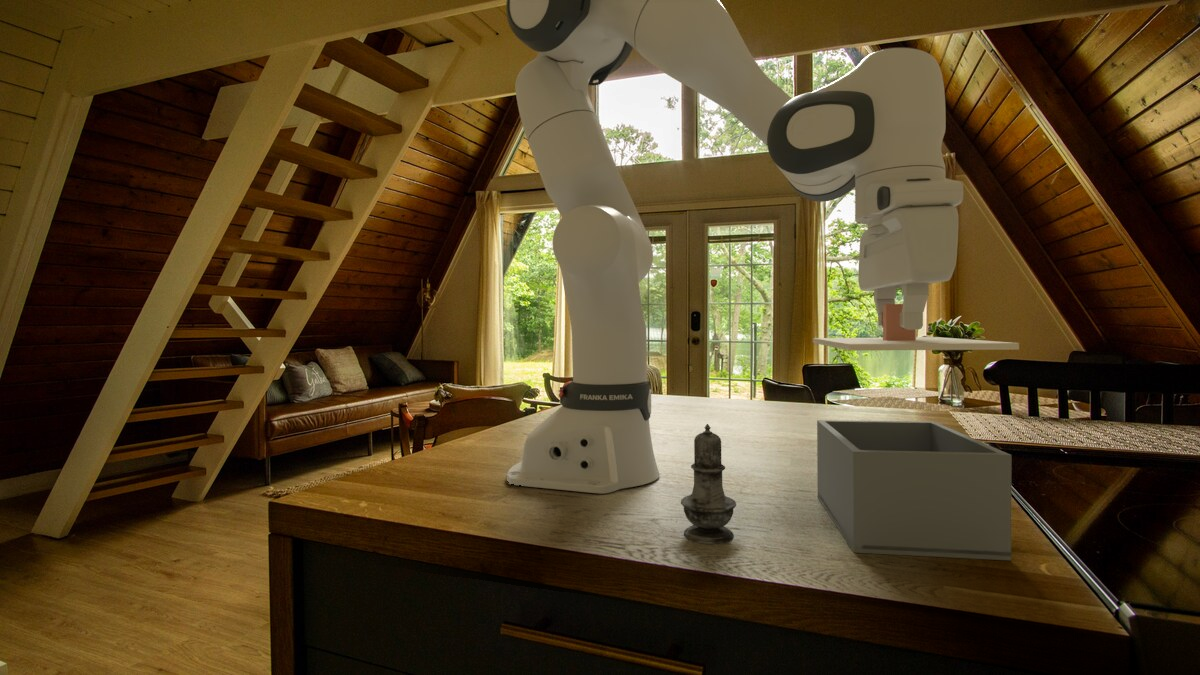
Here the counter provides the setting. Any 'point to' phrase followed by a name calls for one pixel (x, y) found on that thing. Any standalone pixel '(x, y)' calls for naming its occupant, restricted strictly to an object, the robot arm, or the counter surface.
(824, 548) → the counter surface
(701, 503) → the salt shaker
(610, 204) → the robot arm
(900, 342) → the lid
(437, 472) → the counter surface
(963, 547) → the box
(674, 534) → the counter surface
